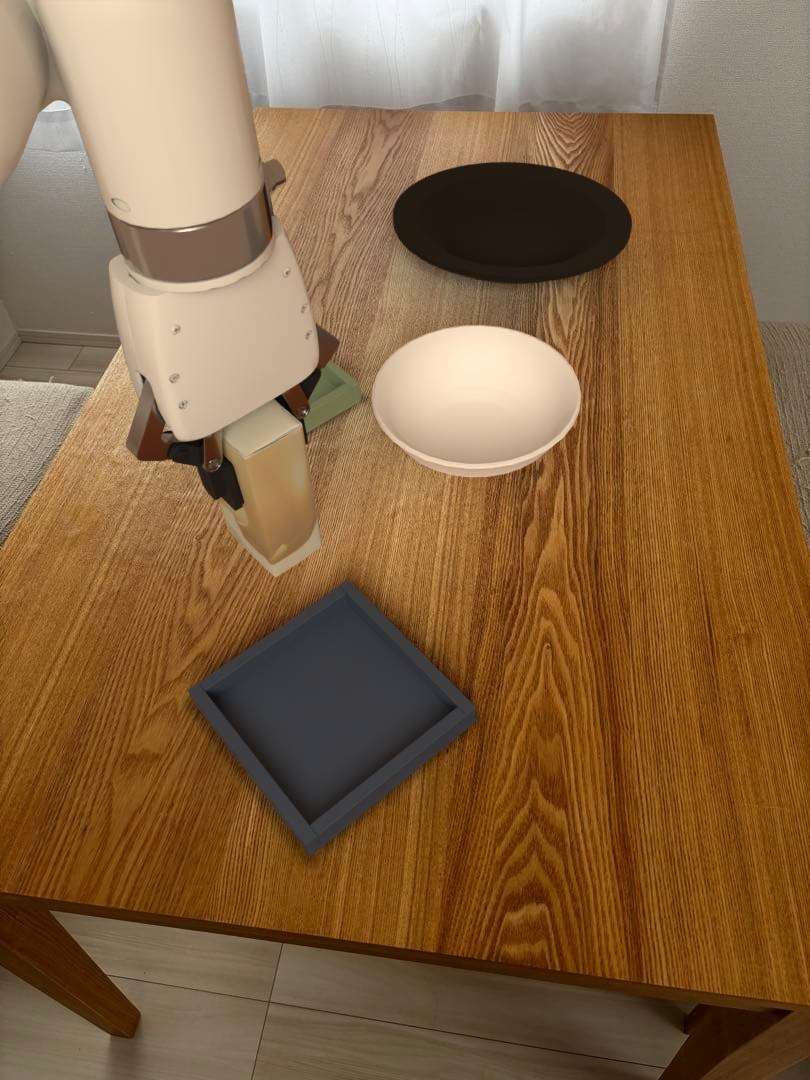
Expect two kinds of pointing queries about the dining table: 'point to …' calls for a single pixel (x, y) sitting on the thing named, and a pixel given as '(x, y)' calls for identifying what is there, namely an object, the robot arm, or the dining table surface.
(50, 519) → the dining table surface
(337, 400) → the sage tray
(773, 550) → the dining table surface
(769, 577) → the dining table surface
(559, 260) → the plate
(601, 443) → the dining table surface
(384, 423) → the bowl
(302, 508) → the cosmetic box
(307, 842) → the slate tray
